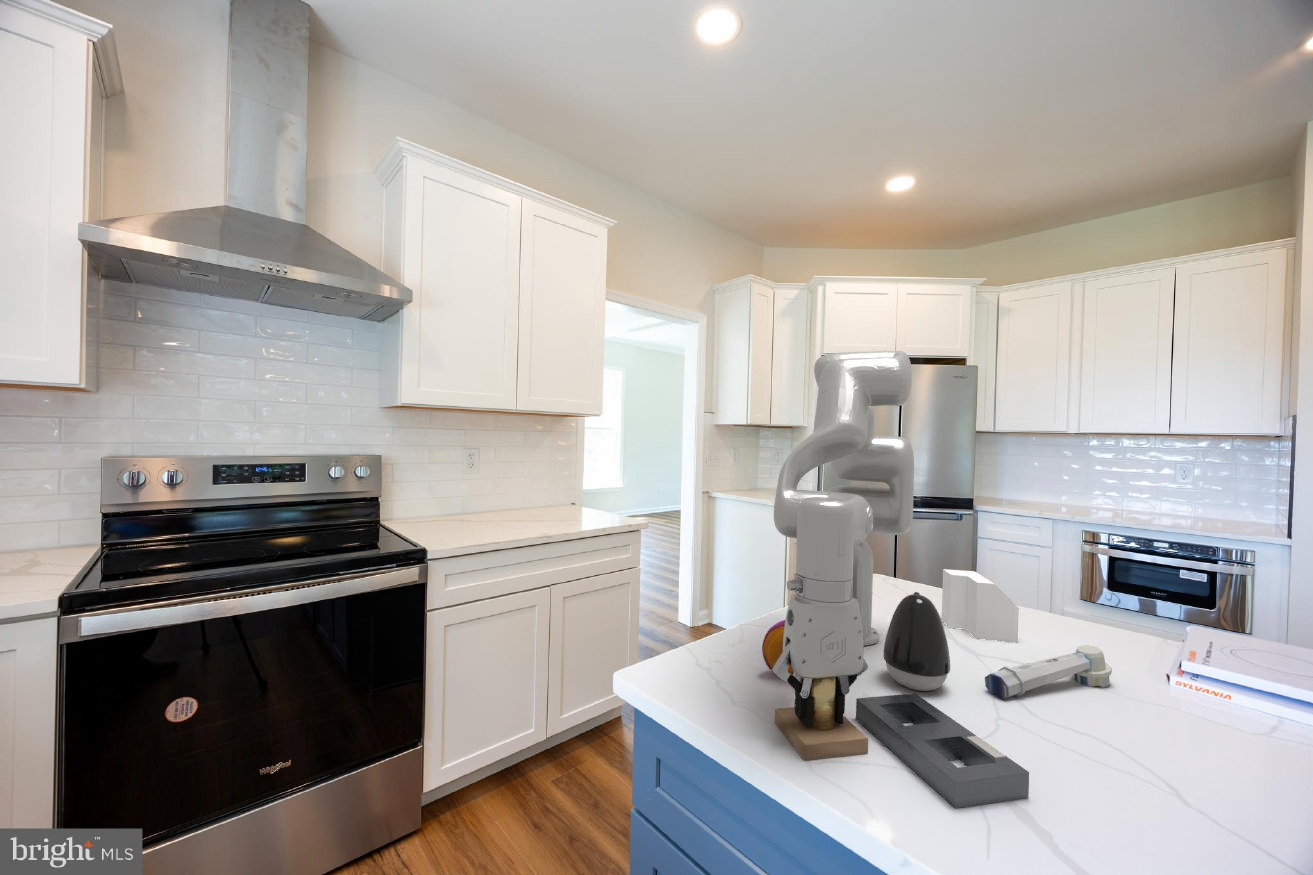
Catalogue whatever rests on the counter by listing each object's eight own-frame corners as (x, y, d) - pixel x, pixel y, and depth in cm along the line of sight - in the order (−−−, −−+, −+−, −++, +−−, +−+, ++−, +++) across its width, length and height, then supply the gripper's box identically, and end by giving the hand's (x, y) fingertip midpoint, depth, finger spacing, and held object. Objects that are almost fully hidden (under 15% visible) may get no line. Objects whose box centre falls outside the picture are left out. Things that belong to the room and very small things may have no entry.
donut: (771, 661, 96) (772, 607, 96) (823, 673, 92) (824, 617, 92) (758, 678, 90) (759, 620, 90) (813, 692, 85) (815, 631, 85)
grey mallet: (979, 666, 88) (1085, 634, 95) (982, 705, 88) (1087, 669, 96) (1009, 681, 83) (1117, 645, 90) (1012, 721, 83) (1120, 683, 91)
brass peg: (798, 716, 74) (800, 666, 74) (824, 713, 75) (826, 664, 75) (813, 732, 70) (815, 679, 70) (840, 729, 71) (841, 677, 71)
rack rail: (855, 718, 77) (856, 697, 77) (914, 712, 79) (915, 691, 79) (955, 808, 59) (956, 780, 59) (1028, 797, 61) (1029, 770, 61)
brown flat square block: (774, 722, 76) (774, 708, 76) (830, 717, 78) (831, 703, 78) (805, 760, 67) (805, 744, 67) (867, 753, 69) (868, 738, 69)
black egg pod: (946, 677, 92) (949, 591, 92) (952, 704, 82) (955, 608, 82) (883, 665, 96) (886, 583, 96) (881, 689, 87) (884, 598, 87)
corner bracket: (941, 620, 122) (943, 569, 122) (995, 625, 120) (996, 572, 120) (958, 637, 112) (960, 581, 112) (1017, 642, 109) (1019, 585, 109)
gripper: (779, 598, 67) (775, 742, 67) (894, 593, 70) (890, 730, 70) (755, 582, 74) (751, 711, 74) (861, 578, 78) (857, 702, 78)
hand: (819, 719), depth 72 cm, fingers closed on brass peg, 4 cm apart
